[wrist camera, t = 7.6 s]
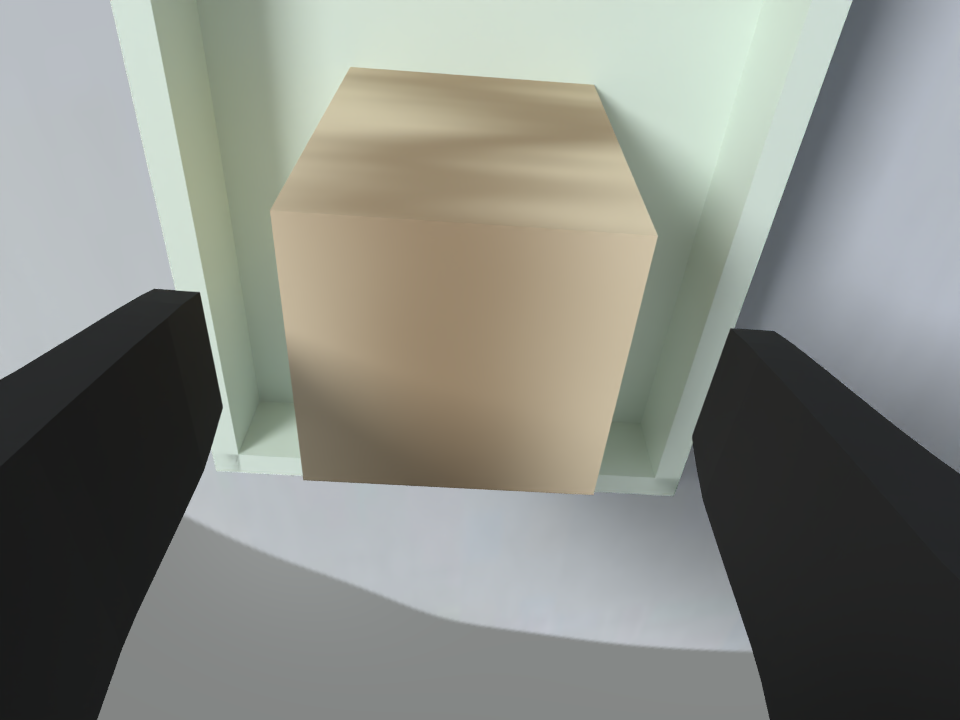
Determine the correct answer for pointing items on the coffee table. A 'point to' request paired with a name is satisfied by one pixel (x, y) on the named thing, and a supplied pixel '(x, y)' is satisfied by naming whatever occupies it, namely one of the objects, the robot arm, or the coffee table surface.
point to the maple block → (459, 282)
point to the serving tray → (487, 53)
